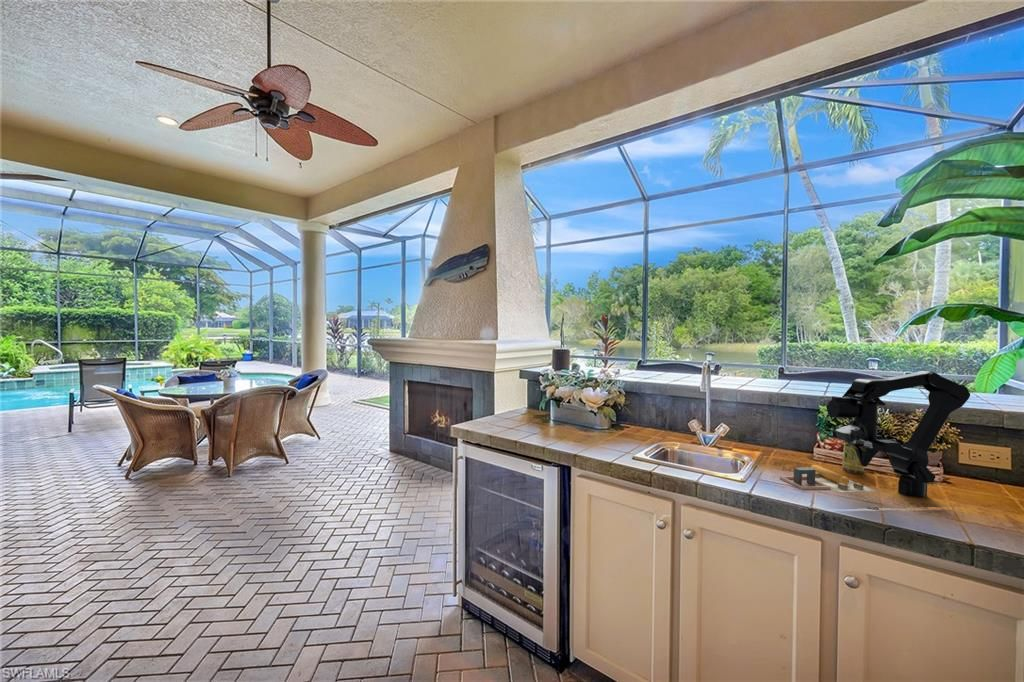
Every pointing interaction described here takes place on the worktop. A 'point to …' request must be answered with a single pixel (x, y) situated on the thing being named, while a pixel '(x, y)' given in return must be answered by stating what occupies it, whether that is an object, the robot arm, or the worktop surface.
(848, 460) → the sauce bottle
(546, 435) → the worktop surface
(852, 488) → the cradle board
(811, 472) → the dark gray horseshoe block
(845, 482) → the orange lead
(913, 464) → the robot arm
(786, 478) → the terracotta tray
